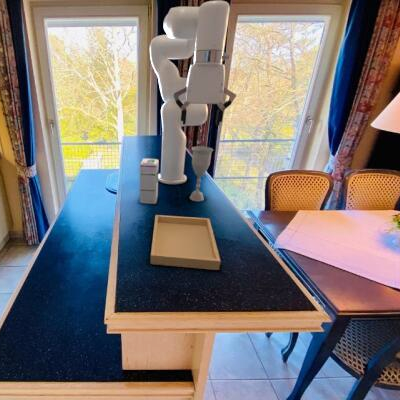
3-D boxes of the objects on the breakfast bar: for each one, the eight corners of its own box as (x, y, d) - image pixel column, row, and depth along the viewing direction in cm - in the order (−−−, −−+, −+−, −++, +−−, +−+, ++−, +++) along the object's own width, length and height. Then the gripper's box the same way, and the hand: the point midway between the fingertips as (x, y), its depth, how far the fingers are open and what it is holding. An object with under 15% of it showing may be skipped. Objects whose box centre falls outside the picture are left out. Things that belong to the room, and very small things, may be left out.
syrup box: (156, 204, 91) (157, 163, 84) (139, 203, 92) (139, 162, 85) (157, 197, 96) (159, 158, 89) (141, 196, 97) (142, 157, 90)
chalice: (183, 195, 97) (187, 147, 89) (198, 193, 99) (204, 145, 91) (194, 204, 91) (200, 152, 83) (210, 200, 93) (218, 150, 85)
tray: (155, 222, 80) (155, 214, 79) (208, 226, 78) (209, 218, 76) (150, 264, 62) (150, 255, 61) (218, 270, 60) (220, 261, 59)
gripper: (239, 58, 73) (228, 122, 80) (175, 59, 75) (171, 121, 83) (245, 58, 66) (233, 127, 74) (175, 58, 69) (170, 125, 76)
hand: (200, 124), depth 78 cm, fingers open, 9 cm apart
